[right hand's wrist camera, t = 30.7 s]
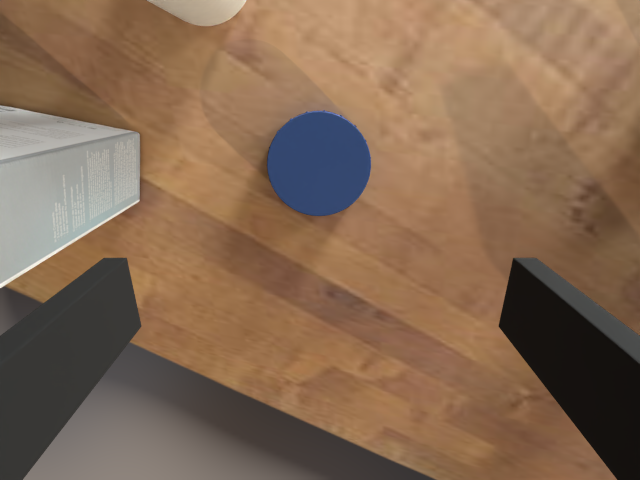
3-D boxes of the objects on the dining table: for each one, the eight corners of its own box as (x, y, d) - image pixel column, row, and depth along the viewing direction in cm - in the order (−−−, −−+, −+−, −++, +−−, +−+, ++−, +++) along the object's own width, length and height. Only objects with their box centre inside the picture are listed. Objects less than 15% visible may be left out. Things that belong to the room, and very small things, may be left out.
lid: (271, 209, 39) (268, 215, 37) (267, 109, 35) (264, 110, 33) (365, 210, 39) (367, 217, 37) (371, 110, 35) (374, 111, 33)
